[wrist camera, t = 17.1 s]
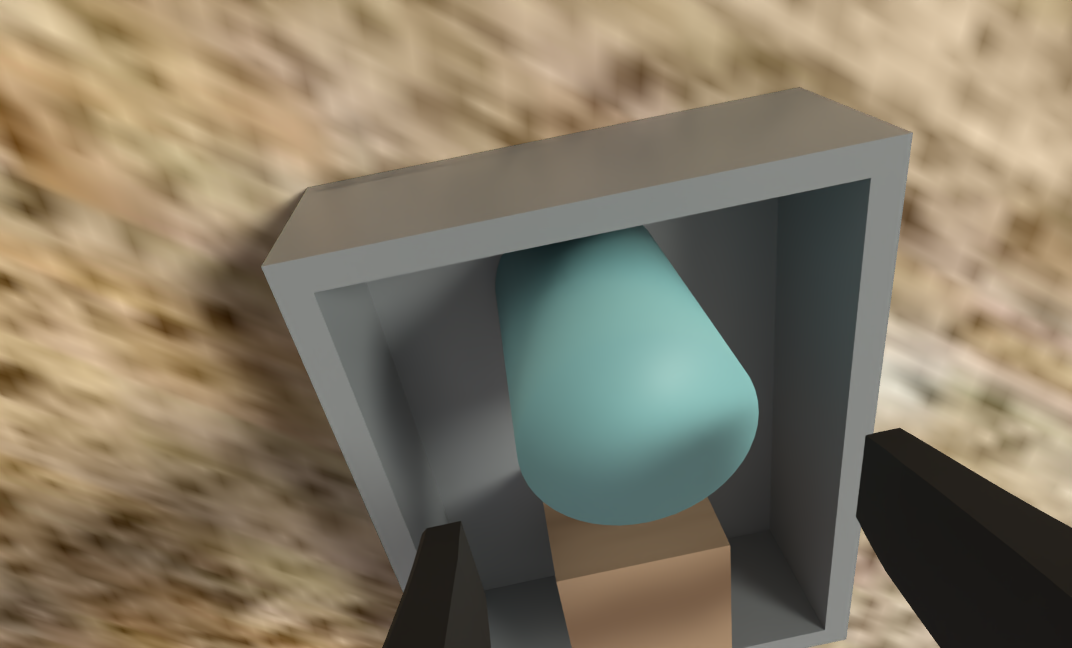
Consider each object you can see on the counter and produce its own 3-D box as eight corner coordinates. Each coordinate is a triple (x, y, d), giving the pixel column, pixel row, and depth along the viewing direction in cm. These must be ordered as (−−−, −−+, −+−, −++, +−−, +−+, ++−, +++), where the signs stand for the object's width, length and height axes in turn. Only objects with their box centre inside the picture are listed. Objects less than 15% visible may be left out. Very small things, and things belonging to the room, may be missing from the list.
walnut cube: (683, 528, 25) (732, 649, 21) (557, 555, 25) (579, 681, 21) (676, 430, 22) (730, 545, 18) (535, 460, 22) (556, 581, 18)
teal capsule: (667, 336, 20) (757, 498, 14) (512, 368, 20) (538, 544, 14) (656, 186, 18) (760, 307, 12) (479, 222, 18) (493, 363, 12)
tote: (782, 527, 27) (846, 639, 22) (457, 596, 26) (459, 722, 22) (799, 86, 18) (912, 132, 13) (307, 187, 17) (261, 266, 13)
